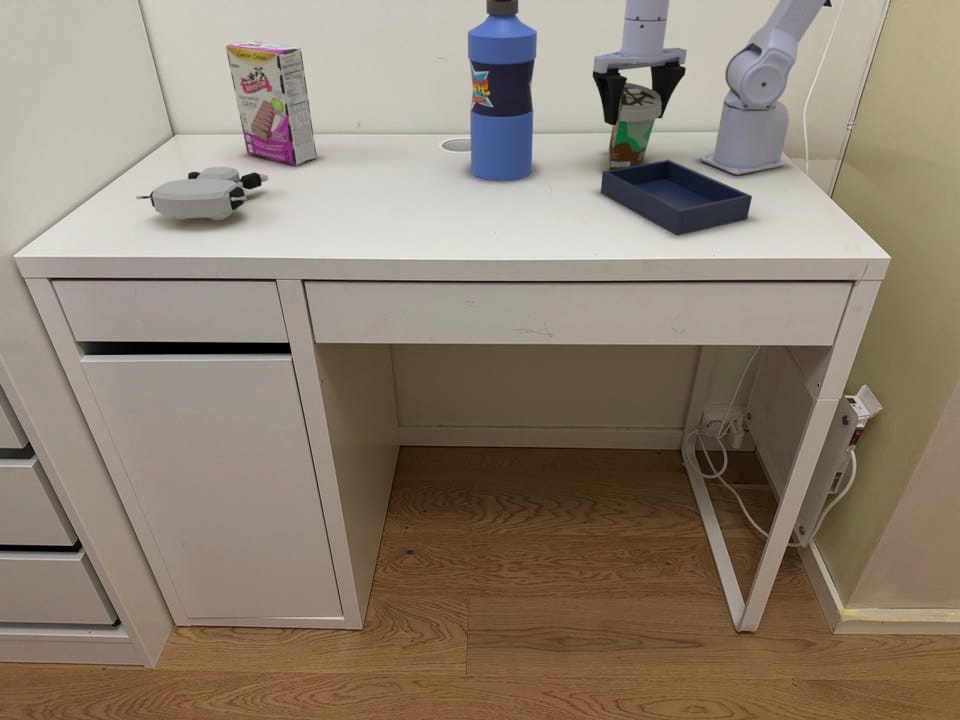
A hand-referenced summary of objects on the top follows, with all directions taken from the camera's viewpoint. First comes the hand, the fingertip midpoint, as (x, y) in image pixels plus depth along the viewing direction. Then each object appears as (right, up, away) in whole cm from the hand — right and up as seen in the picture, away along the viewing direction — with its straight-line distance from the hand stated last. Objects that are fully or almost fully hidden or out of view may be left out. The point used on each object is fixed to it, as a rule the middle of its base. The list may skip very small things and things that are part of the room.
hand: (633, 120), depth 102 cm
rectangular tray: (+2, -15, -11) cm, 19 cm away
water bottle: (-20, -7, +1) cm, 21 cm away
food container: (0, -5, +4) cm, 7 cm away
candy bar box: (-54, -3, +8) cm, 55 cm away
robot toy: (-58, -16, -10) cm, 61 cm away
